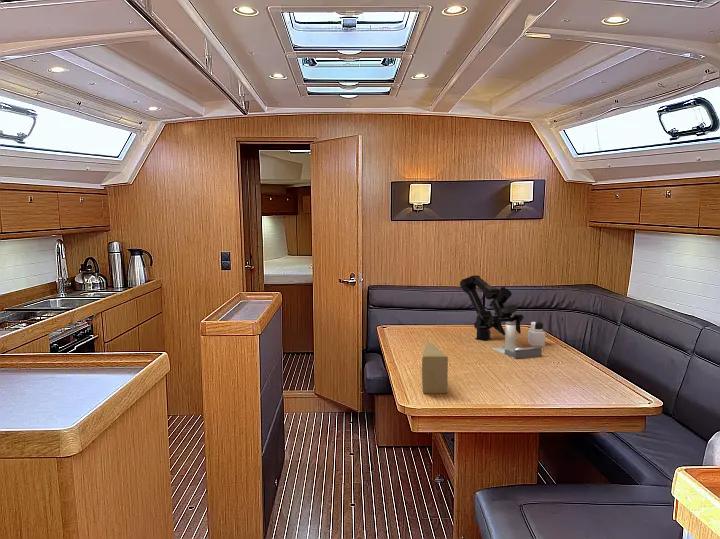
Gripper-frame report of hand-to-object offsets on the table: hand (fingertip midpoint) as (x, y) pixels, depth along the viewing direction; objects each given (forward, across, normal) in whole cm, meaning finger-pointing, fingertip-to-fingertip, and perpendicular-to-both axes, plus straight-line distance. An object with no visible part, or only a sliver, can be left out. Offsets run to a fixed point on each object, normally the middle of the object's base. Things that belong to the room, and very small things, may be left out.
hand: (512, 334), depth 245 cm
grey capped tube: (+5, 0, +7) cm, 8 cm away
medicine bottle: (+2, +20, +11) cm, 23 cm away
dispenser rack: (+12, 0, 0) cm, 12 cm away
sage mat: (+5, 0, +7) cm, 9 cm away
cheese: (+29, -62, -16) cm, 70 cm away
